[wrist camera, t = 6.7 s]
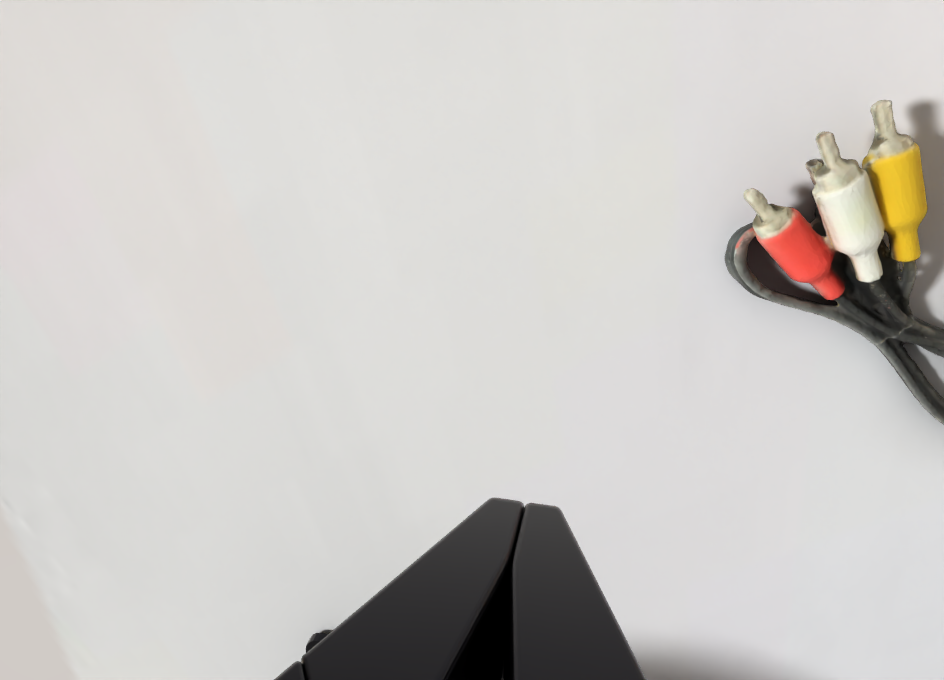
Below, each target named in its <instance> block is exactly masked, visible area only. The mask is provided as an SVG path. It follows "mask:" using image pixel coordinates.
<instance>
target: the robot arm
mask: <svg viewBox="0 0 944 680" xmlns="http://www.w3.org/2000/svg"><path fill="white" fill-rule="evenodd" d="M274 680H646V678H645V676H644V674H643V672H642V670H641V668H640V666H639V664H638V662H637V660H636V658H635V656H634V654H633V652H632V650H631V648H630V646H629V644H628V642H627V640H626V638H625V636H624V634H623V632H622V630H621V628H620V626H619V624H618V622H617V620H616V618H615V616H614V614H613V612H612V610H611V608H610V606H609V604H608V602H607V600H606V598H605V596H604V594H603V592H602V591H601V589H600V587H599V585H598V583H597V581H596V579H595V577H594V575H593V573H592V571H591V569H590V567H589V565H588V563H587V561H586V559H585V557H584V555H583V553H582V551H581V549H580V547H579V545H578V543H577V541H576V539H575V537H574V535H573V533H572V531H571V529H570V527H569V525H568V523H567V521H566V519H565V517H564V515H563V513H562V511H561V510H560V509H559V508H558V507H556V506H550V505H543V504H536V503H529V504H527V505H526V506H525V508H524V505H523V503H522V502H520V501H515V500H508V499H501V498H491V499H489V500H487V501H486V502H485V503H484V504H483V505H482V506H480V507H479V508H478V509H477V510H476V511H474V512H473V513H472V514H471V515H470V516H468V517H467V518H466V519H465V520H464V521H463V522H461V523H460V524H459V525H458V526H457V527H455V528H454V529H453V530H452V531H451V532H449V533H448V534H447V535H446V536H445V537H444V538H442V539H441V540H440V541H439V542H438V543H436V544H435V545H434V546H433V547H432V548H430V549H429V550H428V551H427V552H426V553H425V554H423V555H422V556H421V557H420V558H419V559H417V560H416V561H415V562H414V563H413V564H411V565H410V566H409V567H408V568H407V569H406V570H404V571H403V572H402V573H401V574H400V575H398V576H397V577H396V578H395V579H394V580H392V581H391V582H390V583H389V584H388V585H387V586H385V587H384V588H383V589H382V590H381V591H379V592H378V593H377V594H376V595H375V596H373V597H372V598H371V599H370V600H369V601H368V602H366V603H365V604H364V605H363V606H362V607H360V608H359V609H358V610H357V611H356V612H354V613H353V614H352V615H351V616H350V617H349V618H347V619H346V620H345V621H344V622H343V623H341V624H340V625H339V626H338V627H337V628H335V629H334V630H333V631H332V632H331V633H329V634H324V633H316V634H313V635H312V636H311V638H310V640H309V642H308V643H307V645H306V654H305V655H303V657H302V659H301V662H299V661H297V662H295V663H293V664H292V665H291V666H290V667H289V668H287V669H286V670H285V671H284V672H283V673H281V674H280V675H279V676H278V677H277V678H276V679H274Z"/></svg>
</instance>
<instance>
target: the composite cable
mask: <svg viewBox="0 0 944 680" xmlns="http://www.w3.org/2000/svg"><path fill="white" fill-rule="evenodd" d="M871 113H872V116H873V120H874V125H875V136H874V141H873V144H872V146H871V148H870V150H869V152H868V155H867V156H866V157H865V158H864V159H863V162H862V169H860V167H859V165H858V162H857V161H856V160H853V159H848V160H846V159H842V158H841V157H840V153H839V148H838V146H837V144H836V142H835V138H834V135H833V133H830V132H821V133H818V134H817V136H816V141H817V145H818V148H819V151H820V154H821V158H822V160H823V162H824V165H823V164H822V163H821V162H819V161H818V160H816V159H813V160H810V161H808V162H807V163H806V164H805V165H806V168H807V170H808V171H809V173H810V176H811V179H812V182H813V184H814V185H815V186H814V189H813V191H812V197H813V198H814V200H815V202H816V204H817V207H816V209H815V219H814V220H813V221H812V222H811V223H809V222H808V221H806V220H805V218H804V217H803V216H802V215H801V213H800V212H799V211H797V210H796V209H794V208H790V207H782V206H777V205H774V204H768V203H767V200H766V198H765V197H764V195H763V194H762V193H760V192H759V191H758V190H756V189H752V188H751V189H748V190H746V191H745V192H744V199H745V200H746V201H747V202H748V203H749V204H750V205H751V207H752V208H753V209H754V210H755V212H756V213H757V215H756V217H755V219H754V221H753V223H750V224H748V225H746V226H744V227H742V228H740V229H739V230H737V231H736V232H735V233H734V234H733V235H732V237H731V238H730V240H729V242H728V246H727V250H726V254H725V262H726V266H727V269H728V271H729V273H730V274H731V275H732V277H733V278H734V279H736V280H737V281H738V282H739V283H740V284H741V285H742V286H743V287H744V288H745V289H746V290H747V291H749V292H750V293H752V294H753V295H755V296H757V297H760V298H762V299H765V300H769V301H772V302H775V303H778V304H781V305H784V306H788V307H792V308H796V309H800V310H803V311H806V312H812V313H814V314H817V315H821V316H824V317H826V318H828V319H831V320H835V321H837V322H839V323H840V324H842V325H845V326H847V327H849V328H851V329H852V330H854V331H855V332H857V333H859V334H861V335H862V336H864V337H865V338H866V339H867V340H869V341H870V342H871V343H873V344H874V345H875V346H876V347H877V348H878V349H879V350H880V351H881V352H882V354H883V355H884V356H885V357H886V358H887V359H888V361H889V362H890V364H891V365H892V366H893V367H894V369H895V370H896V372H897V373H898V374H899V376H900V377H901V379H902V380H903V381H904V383H905V384H906V386H907V387H908V388H909V390H910V391H911V392H912V394H913V395H914V397H915V398H916V399H917V400H918V401H919V402H920V404H921V405H922V406H923V407H924V408H925V409H926V410H927V411H928V412H929V413H930V414H931V415H932V416H933V417H934V418H936V419H937V420H938V421H939V422H941V423H942V424H944V399H943V398H942V397H941V396H940V395H939V394H938V392H937V391H936V390H935V389H934V388H933V387H932V386H931V385H930V383H929V382H928V381H927V379H926V378H925V376H924V375H923V373H922V371H921V370H920V369H919V367H918V366H917V364H916V363H915V362H914V361H913V360H912V359H911V357H910V356H909V355H908V353H907V351H906V350H905V348H904V347H903V345H904V343H906V342H908V343H913V344H917V345H919V346H921V347H922V348H924V349H926V350H928V351H930V352H932V353H934V354H937V355H939V356H942V357H944V330H943V329H941V328H938V327H935V326H932V325H930V324H928V323H926V322H924V321H922V320H920V319H917V318H915V317H914V316H913V315H912V314H911V310H910V308H909V306H908V305H909V295H910V293H911V290H912V287H913V285H914V280H915V278H916V271H917V267H916V264H915V260H916V259H918V258H919V257H920V254H921V251H920V246H919V240H918V233H917V230H918V227H919V225H920V223H921V221H922V220H923V218H924V217H925V215H926V213H927V208H928V207H927V203H926V194H925V187H924V180H923V174H922V165H921V156H920V150H919V146H918V145H917V144H916V143H914V142H913V140H912V138H911V137H910V136H909V135H904V134H898V133H897V131H896V128H895V122H894V119H893V111H892V101H890V100H880V101H878V102H876V103H875V104H874V105H872V107H871ZM884 231H886V232H887V234H888V237H889V244H890V250H889V248H888V247H887V246H886V244H885V242H884V240H883V239H882V238H883V236H884ZM755 236H756V238H757V240H758V241H759V243H760V244H761V245H762V246H763V247H764V249H765V250H766V251H767V252H768V253H769V254H770V256H771V257H772V258H773V259H774V260H775V261H776V262H777V264H778V265H779V266H780V267H781V268H782V269H783V270H784V271H785V272H786V274H787V275H788V276H789V277H790V278H791V279H793V280H795V281H798V282H804V283H810V284H811V285H812V286H813V287H814V288H815V289H816V290H817V291H818V293H819V294H820V295H821V296H822V297H824V298H825V299H827V300H835V301H836V302H837V303H838V305H837V306H831V305H824V304H820V303H816V302H813V301H809V300H806V299H802V298H797V297H794V296H790V295H786V294H782V293H779V292H776V291H773V290H770V289H768V288H766V287H765V286H764V285H762V284H761V283H760V281H759V280H758V279H757V278H756V277H755V275H754V274H753V273H752V272H751V270H750V269H749V267H748V264H747V261H746V259H747V250H748V245H749V243H750V242H751V240H752V239H753V238H754V237H755ZM898 261H900V262H902V263H903V270H900V267H899V263H898ZM898 276H900V277H901V279H898Z"/></svg>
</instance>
